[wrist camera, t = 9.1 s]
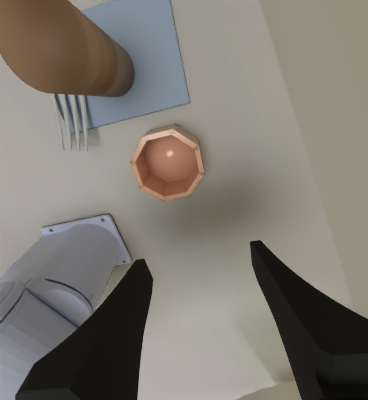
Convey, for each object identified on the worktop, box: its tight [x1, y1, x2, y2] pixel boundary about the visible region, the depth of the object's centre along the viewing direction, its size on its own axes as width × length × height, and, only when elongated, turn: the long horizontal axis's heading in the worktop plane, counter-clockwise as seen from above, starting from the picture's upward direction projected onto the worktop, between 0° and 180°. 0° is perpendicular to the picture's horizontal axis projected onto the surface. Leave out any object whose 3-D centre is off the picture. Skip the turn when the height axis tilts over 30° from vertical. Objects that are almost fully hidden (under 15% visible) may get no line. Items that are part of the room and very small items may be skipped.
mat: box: [55, 0, 189, 133], centre depth 16 cm, size 12×8×1 cm, turn 103°
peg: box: [0, 0, 135, 97], centre depth 12 cm, size 4×4×9 cm
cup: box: [130, 124, 205, 201], centre depth 18 cm, size 6×6×4 cm
